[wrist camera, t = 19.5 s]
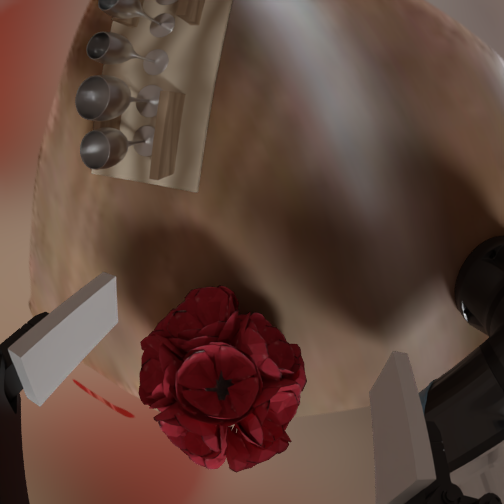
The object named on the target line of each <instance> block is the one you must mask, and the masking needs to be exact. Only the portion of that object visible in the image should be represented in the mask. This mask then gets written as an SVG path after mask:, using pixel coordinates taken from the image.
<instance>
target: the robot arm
mask: <svg viewBox="0 0 504 504" xmlns="http://www.w3.org/2000/svg"><path fill="white" fill-rule="evenodd" d="M455 300H456V304H457V307H458V309H459V311H460V313H461V314H462V316H463V317H464V319H465V320H466V321H467V322H468V323H469V324H470V325H471V326H473V327H475V328H476V329H478V330H480V331H481V332H483V333H485V334H486V335H488V336H489V338H488V339H487V340H486V341H485V342H484V343H482V344H481V345H480V346H479V347H477V348H476V349H475V350H474V351H473V352H471V353H470V354H469V355H468V356H467V357H465V358H464V359H463V360H462V361H460V362H459V363H458V364H457V365H455V366H454V367H453V368H452V369H450V370H449V371H448V372H446V373H445V374H443V375H442V376H441V377H439V378H438V379H435V380H433V381H432V382H431V383H430V384H429V385H428V386H427V387H426V388H425V389H423V390H422V391H421V392H419V393H418V389H417V386H416V382H415V378H414V375H413V371H412V367H411V364H410V361H409V357H408V354H407V353H402V352H396V351H393V352H392V354H391V356H390V357H389V359H388V361H387V363H386V365H385V366H384V368H383V370H382V372H381V373H380V375H379V377H378V379H377V380H376V382H375V384H374V385H373V387H372V389H371V390H370V392H369V394H370V404H371V415H372V428H373V441H374V459H375V486H376V487H375V488H376V504H504V236H498V237H494V238H491V239H489V240H487V241H485V242H483V243H482V244H481V245H479V246H478V247H477V248H476V249H475V250H474V251H473V252H472V253H471V254H470V255H469V257H468V258H467V259H466V261H465V262H464V264H463V266H462V268H461V270H460V272H459V275H458V278H457V281H456V287H455ZM117 323H118V313H117V292H116V276H114V275H111V274H108V273H105V272H103V273H101V274H100V275H99V276H97V277H96V278H95V279H93V280H92V281H91V282H89V283H88V284H87V285H85V286H84V287H83V288H81V289H80V290H79V291H78V292H76V293H75V294H74V295H72V296H71V297H70V298H68V299H67V300H66V301H65V302H63V303H62V304H61V305H60V306H58V307H57V308H56V309H55V310H53V311H52V312H51V313H50V314H49V313H47V312H44V313H41V314H39V315H36V316H34V317H33V318H32V319H31V320H29V321H28V322H27V324H24V325H23V326H22V327H21V329H20V328H19V329H18V330H17V331H16V332H15V333H13V334H12V335H11V336H10V337H9V338H8V339H6V340H5V341H4V342H3V343H1V344H0V504H29V499H28V493H27V486H26V480H25V470H24V461H23V451H22V435H21V398H20V394H19V393H20V391H21V390H22V389H24V391H25V394H26V396H27V398H28V399H30V400H31V401H33V402H34V403H36V404H37V405H38V406H41V405H42V404H43V403H44V402H45V401H46V399H47V398H48V397H49V396H50V395H51V394H52V393H53V392H54V390H55V389H56V388H57V387H58V386H59V385H60V384H61V383H62V382H63V380H64V379H65V378H66V377H67V376H68V375H69V374H70V373H71V372H72V370H73V369H74V368H75V367H76V366H77V365H78V364H79V363H80V362H81V361H82V360H83V359H84V358H85V357H86V355H87V354H88V353H89V352H90V351H91V350H92V349H93V348H94V347H95V346H96V345H97V344H98V343H99V342H100V341H101V340H102V338H103V337H104V336H105V335H106V334H107V333H108V332H109V331H110V330H111V329H112V328H113V327H114V326H115V325H116V324H117Z"/></svg>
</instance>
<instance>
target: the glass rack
mask: <svg viewBox="0 0 504 504" xmlns="http://www.w3.org/2000/svg"><path fill="white" fill-rule="evenodd" d="M139 1H140V3H141V7H142V10H143V11H144V13H145V14H147V15H148V16H150V17H151V18H153V19H154V18H155V17H156V16H158V15H160V14H164V13H167V14H170V15H172V16H173V17H174V19H175V26H174V28H173V30H172V31H171V32H170V33H169V34H168V35H166V36H164V37H155V36H153V35H152V34H151V32H150V24H151V22H152V21H150V20H148V19H146V18H143V17H133V18H128V19H120V18H115V17H112V19H111V20H113V23H112V27H111V31H110V32H113V33H117V34H120V35H122V36H124V37H125V38H127V39H128V40H129V41H130V42H131V44H132V46H133V48H134V50H135V52H136V53H137V54H139V55H141V56H143V57H146V55H147V54H148V53H149V52H151V51H152V50H155V49H161V50H164V51H165V52H166V53H167V55H168V58H169V61H168V65H167V67H166V69H165V70H164V71H163V72H162V73H160V74H158V75H150V74H148V73H146V72H145V70H144V67H143V62H144V60H143V59H137V58H134V59H130V60H128V61H126V62H124V63H121V64H116V65H107V64H104V65H103V71H102V75H111V76H115V77H117V78H119V79H121V80H123V81H124V82H125V83H126V84H127V85H128V87H129V89H130V91H131V97H134V98H137V95H138V93H139V92H140V91H141V90H142V89H143V88H144V87H146V86H148V85H156V86H158V87H160V88H161V89H162V90H163V91H160V96H159V103H158V109H157V115H156V116H154V117H144V116H142V115H141V114H140V113H139V112H138V110H137V108H136V102H130V105H129V106H128V108H127V109H126V111H125V112H124V113H122V114H121V115H120V116H118V117H116V118H114V119H111V120H107V121H94V124H93V130H95V129H99V128H104V127H110V128H115V129H117V130H119V131H121V132H122V133H123V134H124V135H125V136H126V138H127V140H128V141H133V137H134V134H135V132H136V131H137V130H138V129H139V128H140V127H142V126H152V127H153V128H155V131H154V139H153V147H152V155H151V156H141V155H139V154H138V153H137V152H136V151H135V149H134V146H133V145H132V146H130V147H128V151H127V154H126V155H125V157H124V158H123V159H122V160H121V161H120V162H119V163H118V164H116V165H114V166H112V167H110V168H106V169H92V174H97V175H103V176H109V177H115V178H121V179H127V180H133V181H138V182H144V183H149V184H155V185H160V186H165V187H170V188H176V189H181V190H186V191H191V192H196V193H197V192H198V189H199V182H200V175H201V168H202V161H203V154H204V148H205V141H206V135H207V129H208V122H209V116H210V111H211V105H212V99H213V93H214V88H215V83H216V77H217V72H218V67H219V62H220V57H221V52H222V47H223V42H224V37H225V33H226V28H227V23H228V19H229V15H230V10H231V6H232V2H233V0H177V1H176V2H174V3H172V4H169V5H161V4H159V3H157V2H156V0H139ZM90 169H91V168H90Z"/></svg>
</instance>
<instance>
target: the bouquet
mask: <svg viewBox="0 0 504 504" xmlns="http://www.w3.org/2000/svg"><path fill="white" fill-rule="evenodd" d="M185 300H186V301H184V302H183V303H181V304H179V305H178V307H177V308H176V309H172V310H171V311H170V312H169V313H168V314H167V316H166V317H165V318H164V319H162V320H161V321H160V322H159V323H158V324H157V326H156V328H155V329H154V331H152V332H151V333H150V334H149V335H148V337H145V338H144V339H143V340H142V341H141V342H140V343H141V347H142V350H144V353H143V355H142V367H141V371H140V386H139V396H140V399H141V401H142V402H143V404H144V405H149V406H150V407H149V408H152V409H154V408H157V409H158V410H159V411H161V413H159V414H158V415H156V416H155V417H154V420H155V421H159V422H158V423H159V426H160V428H161V430H162V431H163V432H164V433H165V434H166V435H167V437H168V438H169V439H170V441H171V442H172V443H173V444H174V445H175V446H177V447H179V448H180V449H181V450H182V451H183V452H184V453H185V454H186V455H188V456H189V458H190V459H191V460H192V461H193V462H195V463H196V464H198V465H201V466H204V467H206V468H208V469H217V468H219V467H220V466H221V465H222V464H223V463H224V462H225V459H226V458H227V461H228V464H229V468H230V469H231V470H233V471H234V472H238V471H241V470H244V469H248V468H252V467H253V466H255V465H256V464H259V463H261V462H264V461H266V460H269V459H270V458H271V457H273V456H274V455H275V454H277V453H278V454H280V453H281V452H283V451H285V450H286V449H287V447H288V446H289V443H288V442H291V440H290V438H289V436H288V435H287V433H286V432H285V430H286V428H287V426H288V424H289V422H290V421H291V420H292V418H293V417H294V415H295V414H296V412H297V408H298V406H299V404H300V393H301V391H303V389H304V387H305V385H306V382H307V380H306V375H305V369H304V361H303V359H302V356H301V349H300V347H299V346H298V345H297V344H289V343H288V342H287V341H286V339H285V337H284V335H283V334H282V333H281V332H280V331H279V330H278V328H277V327H273V326H272V325H271V323H270V322H268V321H267V320H266V319H265V318H264V316H263V315H262V314H259V313H256V312H255V313H253V314H251V315H250V312H249V313H248V314H247V315H243V314H240V315H238V312H239V309H238V305H239V302H238V300H237V298H236V296H235V294H234V292H233V291H231V290H230V289H228V288H227V287H224V286H221V285H219V286H218V287H205V288H198V289H193V290H191V291H190V292H189V293H188V294H187V296H186V297H185ZM233 424H235V426H234V428H233V429H232V427H228V426H231V425H233ZM236 428H237V433H236ZM231 429H232V430H231Z"/></svg>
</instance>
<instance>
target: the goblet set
mask: <svg viewBox="0 0 504 504" xmlns="http://www.w3.org/2000/svg"><path fill="white" fill-rule="evenodd" d="M176 1H177V0H156V2H157V3H159V4H161V5H169V4H172V3H174V2H176ZM98 6H99V8H100V9H101V10H102V11H104V12H105V13H106V14H108V15H110V16H112V17H115V18H120V19H128V18H133V17H143V18H146V19H148V20H150V21H152V22H151V24H150V32H151V34H152V35H153V36H155V37H164V36H166V35H168V34H169V33H170V32H171V31H172V30H173V28H174V26H175V19H174V17H173V16H172V15H170V14H167V13H164V14H160V15H158V16H156V17H155V18H154V19H153V18H151V17H150V16H148V15H147V14H145V13H144V11H143V10H142V7H141V3H140V1H139V0H99V2H98ZM87 55H88V56H89V58H91V59H93V60H94V61H97V62H99V63H102V64H107V65H116V64H121V63H124V62H126V61H128V60H130V59H134V58H137V59H143V60H144V62H143V67H144V70H145V72H146V73H148V74H150V75H158V74H160V73H162V72H163V71H164V70H165V69H166V67H167V65H168V61H169V58H168V55H167V53H166V52H165V51H164V50H161V49H155V50H152V51H151V52H149V53H148V54H147V55H146V57H143V56H141V55H139V54H137V53H136V52H135V50H134V48H133V46H132V44H131V42H130V41H129V40H128V39H127V38H125V37H124V36H122V35H120V34H117V33H113V32H99V33H96V34H95V35H94V36H92V38H91V39H90V40H89V42H88V45H87ZM160 91H163V90H162V89H161V88H160V87H158V86H156V85H148V86H146V87H144V88H143V89H142V90H141V91H140V92H139V93H138V95H137V98H134V97H131V91H130V89H129V87H128V85H127V84H126V83H125V82H124V81H123V80H121V79H119V78H117V77H115V76H111V75H96V76H91V77H89V78H87V79H86V80H84V81H83V83H82V84H81V85H80V87H79V89H78V91H77V94H76V100H75V103H76V109H77V111H78V113H79V115H80V116H81V117H83V118H84V119H87V120H92V121H107V120H111V119H114V118H116V117H118V116H120V115H121V114H122V113H124V112H125V111H126V109H127V108H128V106H129V105H130V102H136V108H137V110H138V112H139V113H140V114H141V115H142V116H144V117H154V116H156V115H157V109H158V103H159V96H160ZM154 131H155V128H153V127H152V126H142V127H140V128H139V129H138V130H137V131H136V132H135V134H134V137H133V141H128V140H127V138H126V136H125V135H124V134H123V133H122V132H121V131H119V130H117V129H115V128H110V127H104V128H99V129H95V130H93V131H90V132H89V133H87V134H86V135H85V136H84V138H83V140H82V142H81V146H80V154H81V158H82V160H83V162H84V164H85V165H86V166H87V167H89V168H91V169H106V168H110V167H112V166H114V165H116V164H118V163H119V162H120V161H121V160H122V159H123V158H124V157H125V155H126V154H127V151H128V147H130V146H132V145H133V146H134V149H135V151H136V152H137V153H138V154H139V155H141V156H151V155H152V147H153V139H154Z"/></svg>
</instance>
